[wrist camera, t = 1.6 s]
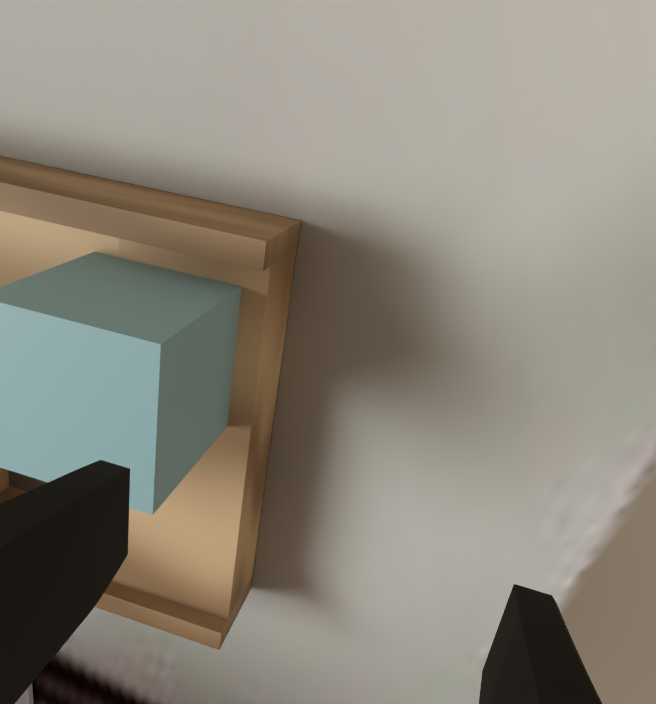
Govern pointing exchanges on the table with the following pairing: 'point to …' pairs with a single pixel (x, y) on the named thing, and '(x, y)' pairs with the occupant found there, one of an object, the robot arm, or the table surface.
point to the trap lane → (246, 391)
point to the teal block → (115, 371)
